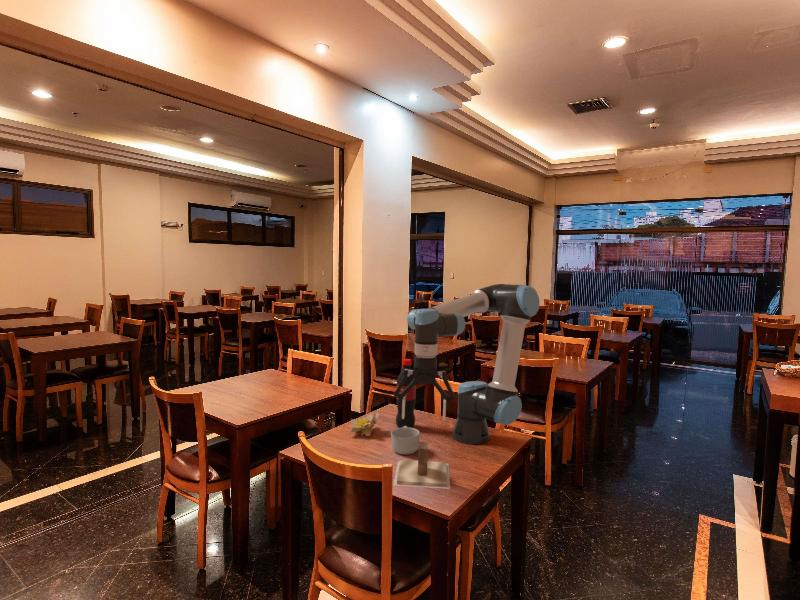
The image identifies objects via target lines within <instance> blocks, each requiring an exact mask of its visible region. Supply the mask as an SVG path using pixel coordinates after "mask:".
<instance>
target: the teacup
mask: <svg viewBox="0 0 800 600" xmlns="http://www.w3.org/2000/svg"><path fill="white" fill-rule="evenodd" d="M390 436H391V447H392V450H393V451H394V452H395V453H397V454H399V455H404V456H408V455H413V454H415V453H416V452H417V451H418V448H419V442H420V431H419V430H418V429H417V428H414V427H413V428H408V427H407V426H404V427H403V428H399V427H397V428H394V429H393V430H391V432H390Z"/></svg>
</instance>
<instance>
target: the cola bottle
mask: <svg viewBox="0 0 800 600" xmlns="http://www.w3.org/2000/svg"><path fill="white" fill-rule="evenodd" d="M412 363H413V362H412V359H410V358H403V359H402V363H401V364H402V369H401V371H400V373H399V374H398V377H397V379H396V388H397V387H398V385H399V383H400V382H401V380H402V378H403V376H404V371H405V369H408V370H413V369H412ZM414 378H415V377H414V376H413V374H411V375H410V376H409V377H408V376H407V379H406V381H405V383H404V384H403V386H402V388H401V390H400V392H399V393H400V394H401V393H402V392H403V390H404V389H405V388H406V387H407V386H408V385H409V384H410V383H411V382H412V381H413V379H414ZM416 386H417V384H416V385H414V387H413V388H412V389H411V390H410V391H409V392H408V393H407V394H406V395H405V396H404V397H405V417H404V419H402V408H399V398H397V397H395V398H396V408H397V412H396V413H397V414H396V417H395V424H396V426H397V428H403V427H404V426H407V427H408V428H414V427H415V423H416V416H415V412H414V411H415V407H416V401H417V398H416V397H417V395H416V394H417V391H416V389H417V387H416Z"/></svg>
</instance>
